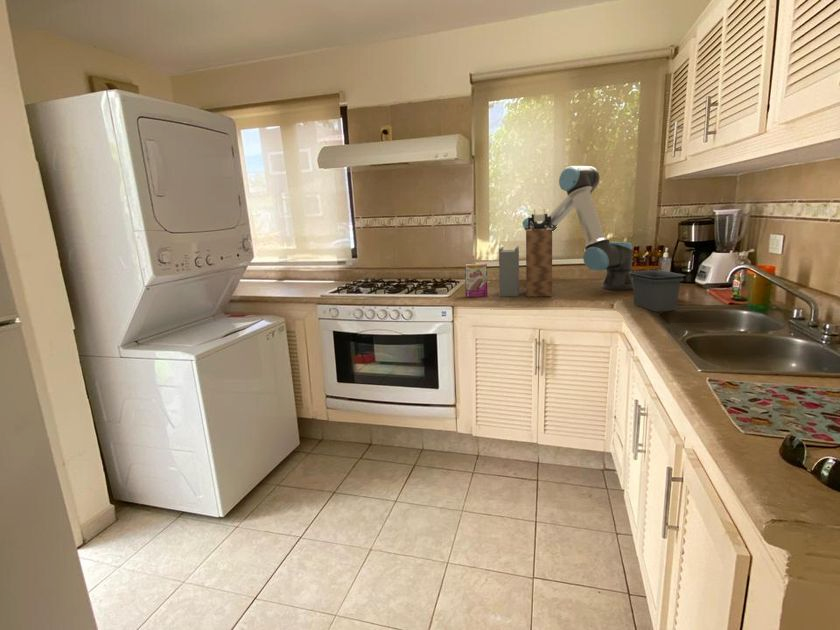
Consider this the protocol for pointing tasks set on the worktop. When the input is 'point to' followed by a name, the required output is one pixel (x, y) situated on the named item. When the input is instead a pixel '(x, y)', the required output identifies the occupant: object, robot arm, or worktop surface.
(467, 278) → the candy bar box
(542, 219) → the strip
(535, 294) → the stand
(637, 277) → the storage bin
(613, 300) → the worktop surface
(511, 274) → the rack
